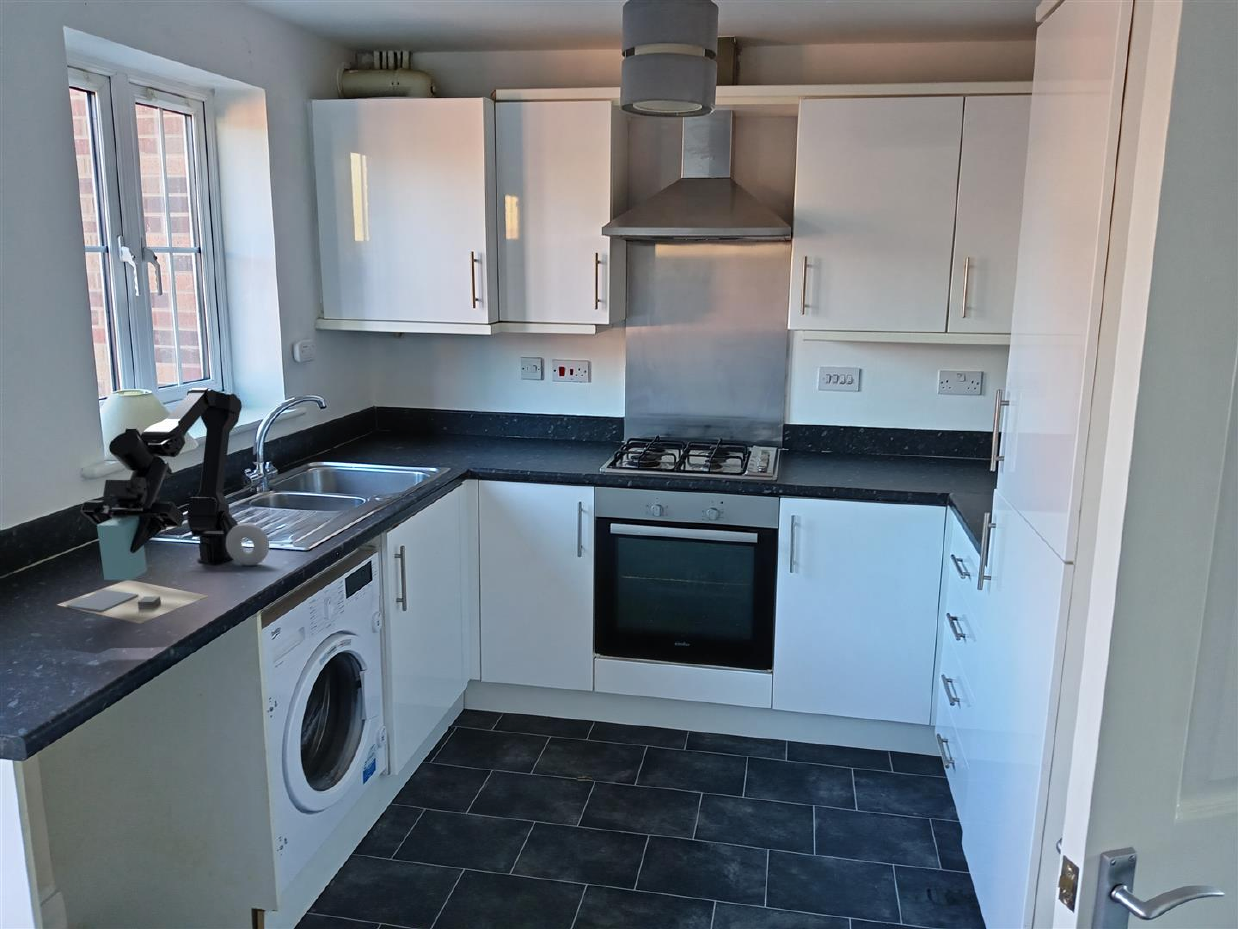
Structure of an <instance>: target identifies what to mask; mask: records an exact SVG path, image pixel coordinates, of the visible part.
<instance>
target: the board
mask: <svg viewBox="0 0 1238 929" xmlns="http://www.w3.org/2000/svg"><path fill="white" fill-rule="evenodd" d="M102 590H108V591H116V592H124V593H132V594H138V595H139V596H138V597H136V598H133V599H131V600H129V601H126V602H124V603H122V604H119V605H117V606H115V607H112V608H110V609H108V610H106V611H103V612H99V611H92V610H84V609H77V608H70V607H67V606H66V605H68V604H70V603H73V602H75V601H78V600H80V599H83V598H85V597H88V596H90V595H93V594H95V593H98V592H100V591H102ZM207 597H209V595H206V594H201V593H197V592H191V591H186V590H182V589H181V590H180V589H176V588H170V587H166V586H161V585H156V584H151V583H145V582H140V581H135V580H122V581H120V582H118V583H114V584H112V585H109V586H105V587H103V588H100V589H98V590H95V591H92V592H90V593H87V594H86V593H85V594H84V595H80V596H77V597H75V598H71V599H70V600H69V599H68V600H67V601H63V602H61V603H60V602H59V603H58V604H56V605H57V606H59V607H64V608H67V609H71V610H78V611H81V612H82V611H83V612H85V613H90V614H96V615H99V616H104V617H109V618H113V619H116V620H121V621H126V622H131V623H133V624H134V623H135V624H138V625H139V624H143V623H145V622H147V621H150V620H152V619H155V618H157V617H160V616H162V615H165V614H168V613H170V612H172V611H175V610H178V609H180V608H182V607H183V608H184V607H185V606H187V605H190V604H192V603H195V602H198V601H201V600H203V599H205V598H207Z"/></svg>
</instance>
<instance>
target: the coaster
mask: <svg viewBox="0 0 1238 929" xmlns="http://www.w3.org/2000/svg"><path fill="white" fill-rule="evenodd" d="M138 596H139V595H138V594H132V593H124V592H116V591H108V590H102V591H100V592H98V593H95V594H93V595H90V596H88V597H85V598H83V599H80V600H78V601H75V602H73V603H70V604H68V605H66V606H67V607H66V608H68V607H70V608H69V609H72V608H77V609H84V610H92V611H99V612H103V611H106V610H108V609H110V608H112V607H115V606H117V605H119V604H122V603H124V602H126V601H129V600H131V599H133V598H136V597H138ZM77 609H76V610H77Z"/></svg>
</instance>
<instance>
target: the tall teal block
mask: <svg viewBox="0 0 1238 929" xmlns="http://www.w3.org/2000/svg"><path fill="white" fill-rule="evenodd" d="M138 526H139V518H117V517H114V518H112V519H110V520H108V521H105V522H103V523H101V524H98V525H96V529H97V536H98V543H99V551H100V557H101V564H102V570H103V577H104V578H103V579H104V580H106V581H107V580H111V581H126V580H131V581H133V580H134V579H136V578H137V577H140V576H141V575H143V574H145V573H146V572H148V567H147V560H146V552H145V544H144V545H143V546H142V547H141V548H140V549H139V550H137V551H136V552H135V553H132V552H130V549H131V545H132V541H133V539H134V536H135V534H136V531H137V528H138Z"/></svg>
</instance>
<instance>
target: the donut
mask: <svg viewBox="0 0 1238 929" xmlns="http://www.w3.org/2000/svg"><path fill="white" fill-rule="evenodd" d="M243 539H249V540H250V541H251V542H252V544H253V548H252V550H247V549H245V547H244V546H243V545H242V541H243ZM226 548H227V552H228V553H229V555H230V556H231V558H233V559H232V560H233V561H234V562H235V563H238V564H240V565H243V566H247V567H249V566H250V567H251V566H256V565H258V564H260V563H262V562H263V561H264V560H265V559H266V558H267V556H268V554H269V551H270V541H269V538H268V535H267V533H266V532H265V530H263V529H262V528H261V527H260V526H258V525H255V524H254V523H248V522H245V523H244V522H243V523H239V524H238V525H236V526H234V527H233V528H232V529H231V530H230V531H229V532H228V535H227V537H226Z"/></svg>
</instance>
